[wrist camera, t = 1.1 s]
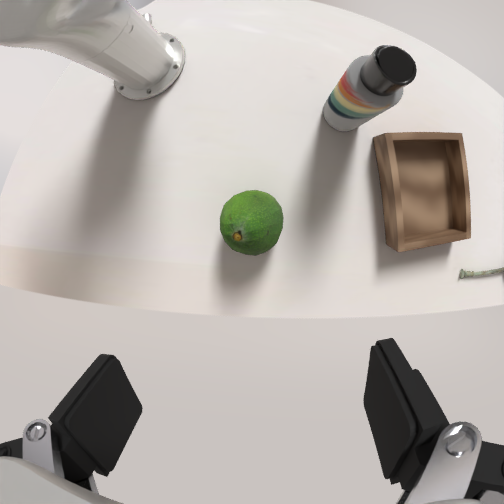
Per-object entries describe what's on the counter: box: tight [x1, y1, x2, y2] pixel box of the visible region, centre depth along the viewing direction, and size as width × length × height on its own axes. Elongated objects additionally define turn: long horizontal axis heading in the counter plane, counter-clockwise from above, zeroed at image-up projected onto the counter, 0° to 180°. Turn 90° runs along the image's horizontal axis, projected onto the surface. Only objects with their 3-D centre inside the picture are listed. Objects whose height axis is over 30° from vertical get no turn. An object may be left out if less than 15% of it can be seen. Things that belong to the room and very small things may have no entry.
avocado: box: [220, 190, 283, 255], centre depth 33 cm, size 8×8×12 cm
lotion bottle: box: [323, 45, 416, 131], centre depth 24 cm, size 6×6×20 cm
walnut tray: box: [373, 132, 471, 252], centre depth 33 cm, size 16×14×5 cm
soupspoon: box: [460, 268, 504, 279], centre depth 36 cm, size 22×3×7 cm
